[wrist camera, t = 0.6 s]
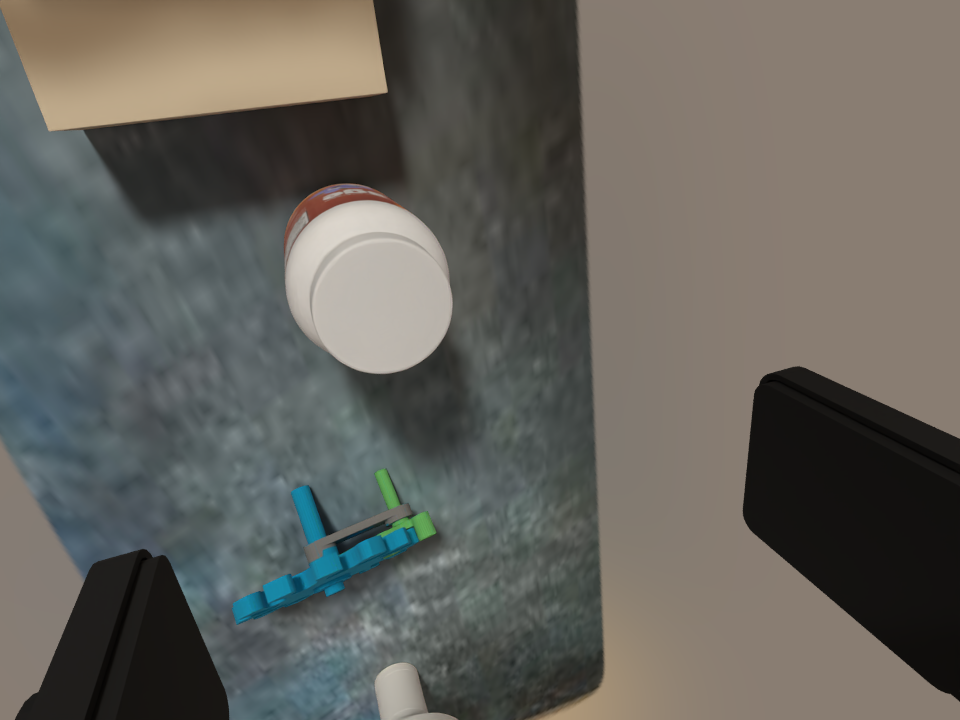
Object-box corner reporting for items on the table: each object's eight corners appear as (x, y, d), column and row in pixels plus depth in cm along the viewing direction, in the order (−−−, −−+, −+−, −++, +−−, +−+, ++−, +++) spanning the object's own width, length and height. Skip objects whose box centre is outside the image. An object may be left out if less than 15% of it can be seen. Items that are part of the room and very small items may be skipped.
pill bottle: (427, 210, 29) (504, 254, 19) (385, 320, 31) (437, 413, 21) (306, 159, 27) (324, 181, 17) (265, 282, 28) (261, 368, 18)
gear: (253, 634, 33) (219, 640, 24) (224, 537, 35) (182, 509, 26) (428, 553, 37) (454, 532, 28) (394, 469, 39) (408, 424, 30)
